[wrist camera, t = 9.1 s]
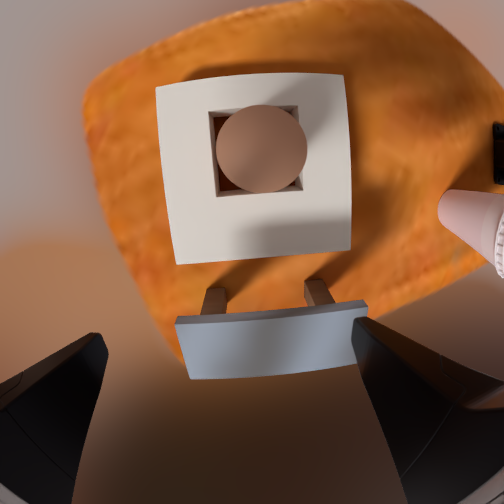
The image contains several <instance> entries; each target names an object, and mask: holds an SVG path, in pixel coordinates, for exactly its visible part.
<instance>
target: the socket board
mask: <svg viewBox="0 0 504 504" xmlns="http://www.w3.org/2000/svg"><path fill="white" fill-rule="evenodd" d="M156 105H157V120H158V132H159V144H160V154H161V163H162V172H163V181H164V189H165V196H166V203H167V210H168V217H169V224H170V230H171V236H172V242H173V248H174V254H175V259H176V265H178V264H190V263H203V262H216V261H228V260H240V259H252V258H264V257H276V256H288V255H300V254H311V253H323V252H334V251H346V250H351V207H352V201H351V158H350V139H349V125H348V113H347V102H346V93H345V84H344V77H343V75H337V74H320V73H261V74H244V75H232V76H223V77H214V78H206V79H199V80H192V81H186V82H181V83H175V84H170V85H165V86H160V87H156ZM252 105H271V106H274V107H278V108H280V109H282V110H284V111H286V112H290V115H291V116H293V117H294V118H295V119H296V120H297V122H298V123H299V124H300V126H301V127H302V129H303V131H304V134H305V136H306V140H307V158H306V162H305V165H304V167H303V169H302V171H301V173H300V174H299V175H298V177H297V178H296V179H295V186H286V187H284V188H283V189H280V190H278V191H274V192H270V193H254V192H250V191H247V190H244V189H239V190H228V191H220V184H219V174H218V164H217V155H216V142H215V130H214V117H223V116H232V115H233V114H234V113H235V112H237V111H239V110H241V109H243V108H245V107H249V106H252Z"/></svg>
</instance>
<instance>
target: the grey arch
mask: <svg viewBox="0 0 504 504" xmlns="http://www.w3.org/2000/svg"><path fill="white" fill-rule="evenodd" d="M304 297H305V300H306V302H307V305H308V307H299V308H289V309H279V310H268V311H257V312H244V313H230V314H226V310H227V299H226V292H225V288H213V289H207V290H206V294H205V298H204V302H203V306H202V310H201V314H200V315H194V316H178V317H177V319H176V322H175V328H176V332H177V335H178V339H179V343H180V346H181V350H182V353H183V357H184V360H185V363H186V367H187V370H188V373H189V376H190V379H222V378H243V377H258V376H270V375H281V374H290V373H298V372H306V371H313V370H320V369H327V368H333V367H339V366H345V365H350V364H355V363H357V360H356V357H355V353H354V350H353V347H352V343H351V334H352V326H353V320H354V319H355V318H356V317H362V316H366V317H367V313H368V306H367V304H366V303H365V302H364V300H356V301H349V302H341V303H335V301H334V299H333V297H332V296H331V294H330V292H329V290H328V289H327V287H326V285H325V283H324V282H323V280H322V279H318V280H308V281H304Z"/></svg>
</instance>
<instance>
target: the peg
mask: <svg viewBox="0 0 504 504" xmlns="http://www.w3.org/2000/svg"><path fill="white" fill-rule="evenodd" d="M216 155H217V160H218V163H219V165H220V168H221V170H222V171H223V173H224V174H225V176H226V177H227V178H228V179H229V180H230V181H231V182H232V183H234V184H235V185H236V186H238V187H240V188H242V189H244V190H247V191H250V192H254V193H270V192H274V191H278V190H280V189H283V188H284V187H286V186H288V185H289V184H290V183H292V182H293V181H294V180H295V179H296V178H297V177H298V175H299V174H300V173H301V171H302V169H303V167H304V165H305V162H306V158H307V140H306V136H305V134H304V131H303V129H302V127H301V126H300V124H299V123H298V122H297V120H296V119H295V118H294V117H293V116H291V115H290V114H289V113H288V112H286V111H284V110H282V109H280V108H278V107H274V106H271V105H252V106H249V107H245V108H243V109H241V110H239V111H237V112H235V113H234V114H233V115H232V116H230V117H229V118H228V119H227V120H226V122H225V123H224V124H223V126H222V128H221V130H220V132H219V134H218V138H217V142H216Z"/></svg>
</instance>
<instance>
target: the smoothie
mask: <svg viewBox="0 0 504 504" xmlns="http://www.w3.org/2000/svg"><path fill="white" fill-rule="evenodd" d="M438 217H439V220H440V222H441V224H442V225H443V226H445V227H446V228H447V229H449V230H450V231H451V232H453V233H454V234H456V235H457V236H458V237H460V238H461V239H462V240H463V241H465V242H466V243H467V244H469V245H470V246H471V247H472V248H474V249H475V250H476V251H477V252H479V253H480V254H481V255H482V256H483V257H485V258H486V259H487V260H488V261H489V262H490V263H492V264H493V265H494V266H495V268H496V270H497V272H498V274H499V275H500V276H501V277H502V278H504V194H496V193H487V192H478V191H467V190H455V189H450V190H448V191H446V192H445V193H444V194H443V195H442V197H441V199H440V201H439V204H438Z"/></svg>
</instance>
